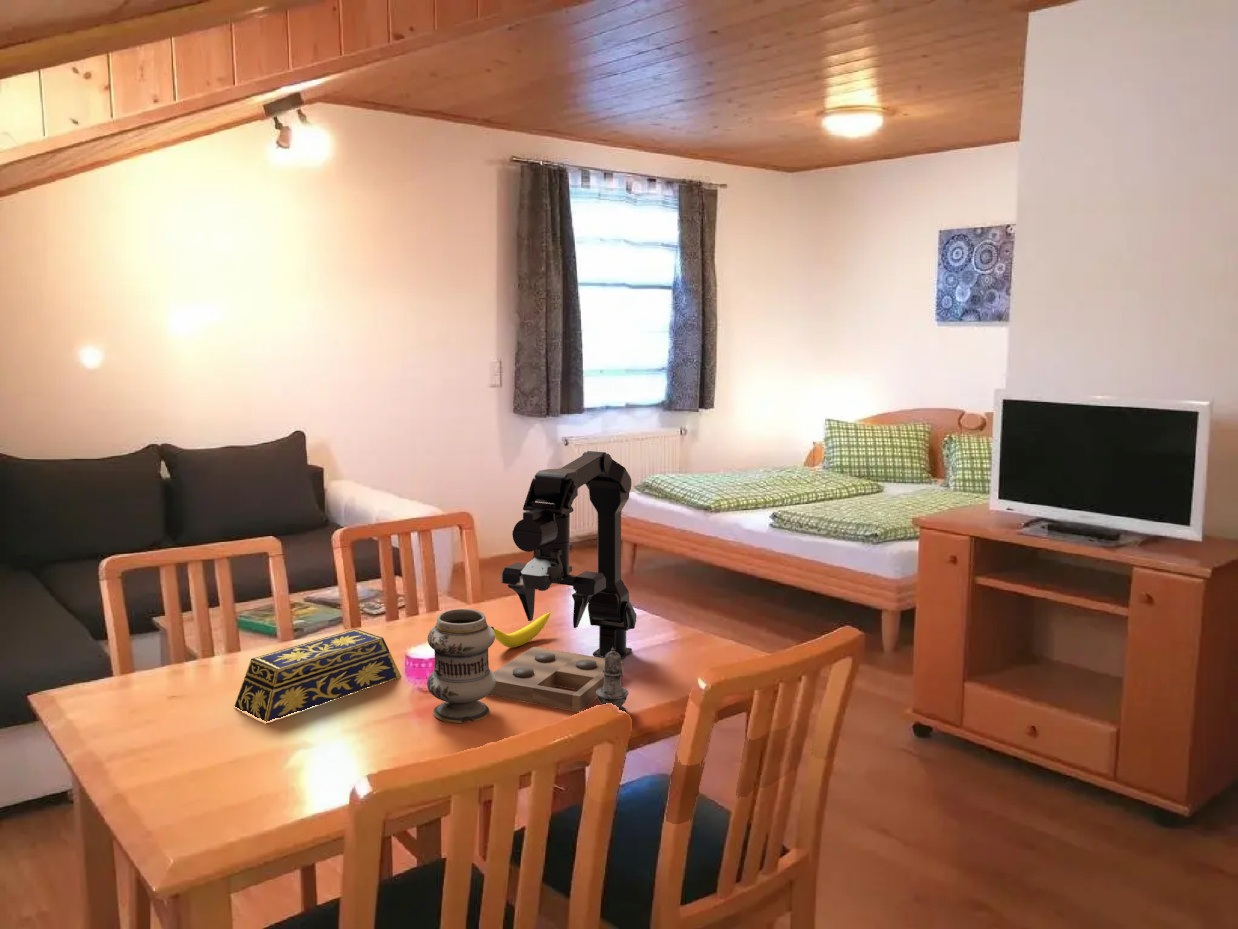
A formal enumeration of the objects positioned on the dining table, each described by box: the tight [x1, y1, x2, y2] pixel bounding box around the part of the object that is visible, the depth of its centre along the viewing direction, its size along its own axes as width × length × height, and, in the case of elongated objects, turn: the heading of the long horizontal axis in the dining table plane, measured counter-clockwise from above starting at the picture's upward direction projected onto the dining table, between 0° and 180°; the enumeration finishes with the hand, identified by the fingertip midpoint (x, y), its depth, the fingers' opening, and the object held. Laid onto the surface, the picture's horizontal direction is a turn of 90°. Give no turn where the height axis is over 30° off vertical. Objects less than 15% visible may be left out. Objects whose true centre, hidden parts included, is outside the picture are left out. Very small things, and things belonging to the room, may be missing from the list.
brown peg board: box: [488, 646, 624, 713], centre depth 191 cm, size 20×20×4 cm
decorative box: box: [233, 628, 402, 722], centre depth 185 cm, size 11×30×9 cm, turn 142°
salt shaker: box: [596, 647, 630, 713], centre depth 178 cm, size 6×6×12 cm
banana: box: [490, 611, 552, 648], centre depth 213 cm, size 3×19×6 cm, turn 144°
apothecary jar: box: [426, 608, 496, 724], centre depth 176 cm, size 12×12×18 cm
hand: (552, 624), depth 181 cm, fingers open, 9 cm apart
